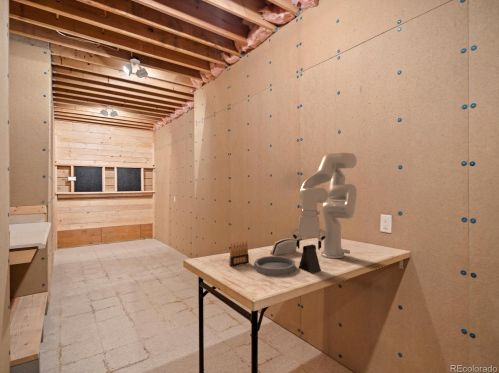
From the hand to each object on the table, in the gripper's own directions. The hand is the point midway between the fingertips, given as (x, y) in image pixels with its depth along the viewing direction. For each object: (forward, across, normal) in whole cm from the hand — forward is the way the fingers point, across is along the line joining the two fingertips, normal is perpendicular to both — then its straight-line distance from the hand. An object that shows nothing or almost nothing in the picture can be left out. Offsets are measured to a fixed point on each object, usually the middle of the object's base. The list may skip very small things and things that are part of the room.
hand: (308, 248), depth 124 cm
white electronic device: (+10, +14, -27) cm, 32 cm away
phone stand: (+11, 0, -1) cm, 11 cm away
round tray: (+11, +16, 0) cm, 20 cm away
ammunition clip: (+11, +36, -2) cm, 37 cm away
